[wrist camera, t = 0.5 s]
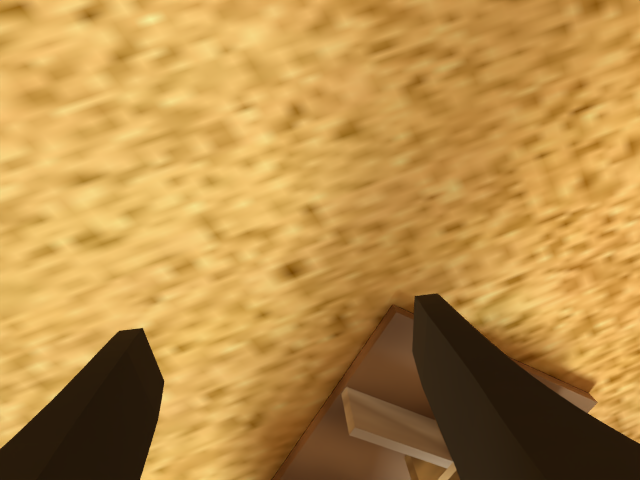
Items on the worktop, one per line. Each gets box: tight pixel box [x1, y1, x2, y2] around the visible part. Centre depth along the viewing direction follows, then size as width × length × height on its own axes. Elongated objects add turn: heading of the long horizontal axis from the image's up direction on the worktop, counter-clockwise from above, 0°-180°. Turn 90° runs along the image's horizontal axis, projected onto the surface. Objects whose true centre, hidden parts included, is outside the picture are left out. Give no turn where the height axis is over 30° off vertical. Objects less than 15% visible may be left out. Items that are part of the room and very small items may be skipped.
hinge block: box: [272, 305, 598, 480], centre depth 26 cm, size 16×16×4 cm
